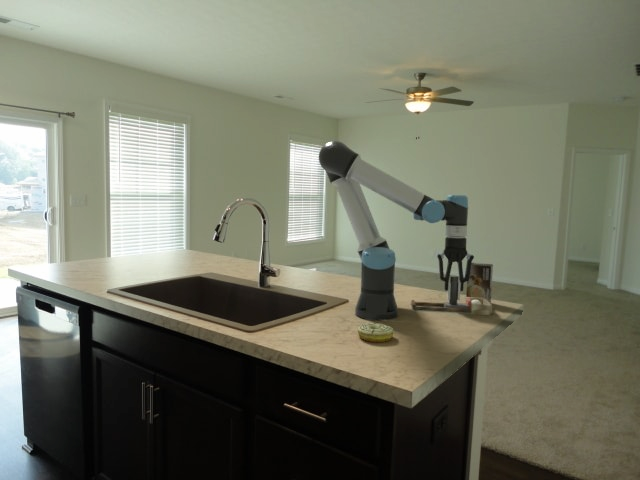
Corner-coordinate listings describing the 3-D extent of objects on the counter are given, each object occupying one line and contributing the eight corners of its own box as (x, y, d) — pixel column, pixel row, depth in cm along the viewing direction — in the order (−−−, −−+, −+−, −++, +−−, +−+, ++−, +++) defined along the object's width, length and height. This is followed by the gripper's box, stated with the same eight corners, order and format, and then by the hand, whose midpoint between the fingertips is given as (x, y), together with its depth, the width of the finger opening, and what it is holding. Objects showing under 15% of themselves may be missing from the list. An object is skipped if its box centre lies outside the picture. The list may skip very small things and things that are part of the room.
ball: (476, 298, 167) (484, 305, 167) (474, 296, 171) (482, 303, 170) (468, 306, 167) (477, 313, 167) (466, 304, 171) (475, 311, 171)
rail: (412, 309, 168) (412, 304, 168) (411, 304, 176) (411, 299, 176) (470, 312, 166) (470, 307, 165) (466, 307, 173) (466, 302, 173)
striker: (445, 309, 168) (447, 277, 167) (443, 306, 173) (445, 275, 172) (470, 310, 167) (472, 278, 166) (468, 307, 172) (469, 276, 171)
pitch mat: (412, 311, 167) (412, 310, 167) (410, 304, 178) (410, 303, 178) (491, 315, 163) (491, 314, 163) (484, 307, 174) (484, 307, 174)
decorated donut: (379, 331, 143) (379, 319, 142) (400, 341, 133) (400, 328, 133) (351, 335, 138) (351, 323, 138) (370, 345, 129) (371, 332, 128)
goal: (471, 314, 164) (472, 304, 163) (465, 305, 175) (466, 297, 175) (491, 315, 163) (492, 305, 162) (484, 306, 174) (485, 298, 174)
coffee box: (491, 303, 181) (494, 264, 180) (489, 307, 176) (492, 266, 174) (467, 300, 185) (470, 262, 184) (465, 304, 180) (467, 264, 178)
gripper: (435, 237, 165) (432, 300, 167) (480, 238, 163) (477, 302, 165) (432, 235, 172) (430, 296, 175) (476, 236, 170) (473, 297, 172)
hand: (453, 299), depth 170 cm, fingers closed on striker, 3 cm apart
